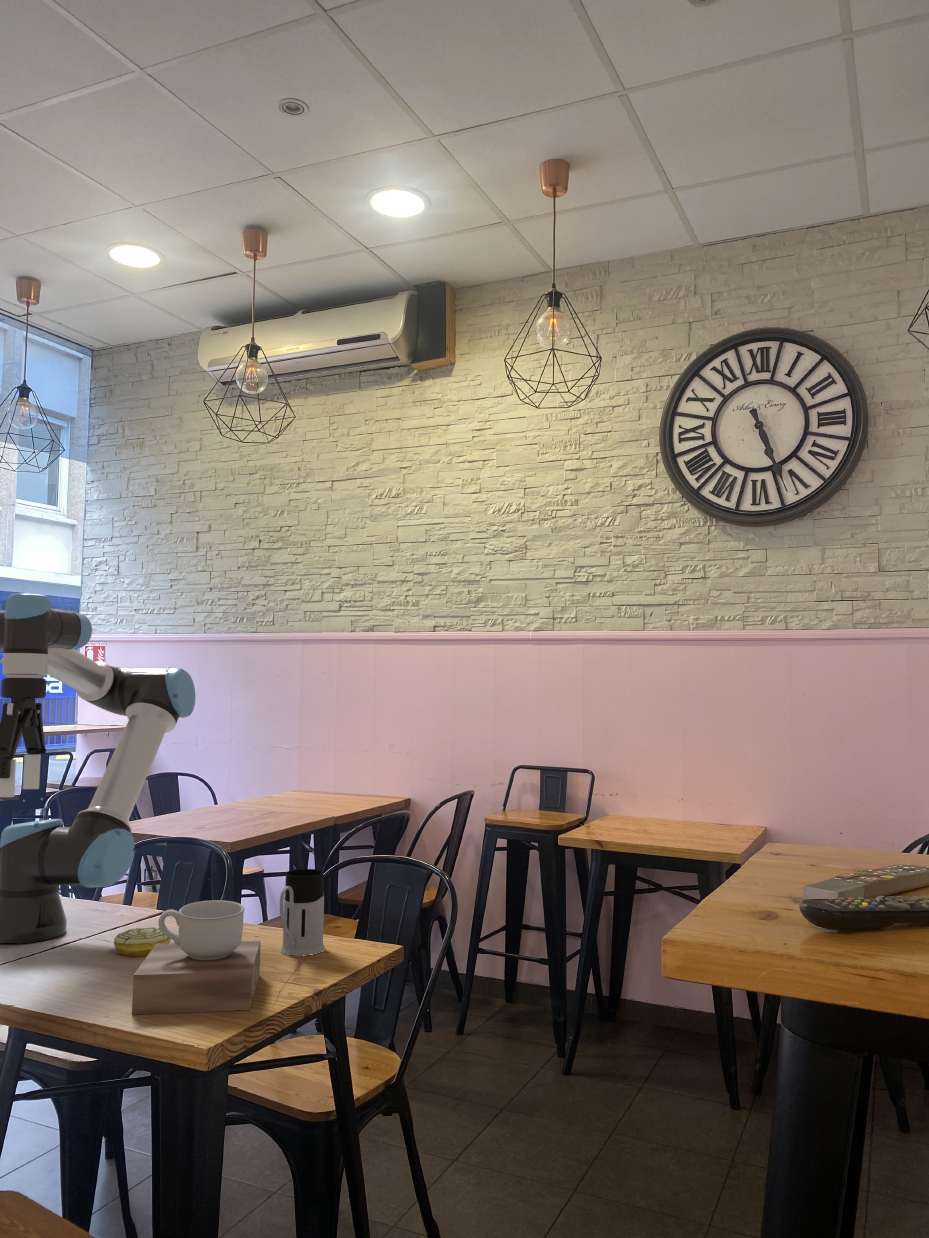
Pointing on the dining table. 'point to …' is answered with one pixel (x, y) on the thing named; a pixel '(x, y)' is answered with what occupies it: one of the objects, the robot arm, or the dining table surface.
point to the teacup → (206, 928)
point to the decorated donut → (139, 941)
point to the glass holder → (302, 912)
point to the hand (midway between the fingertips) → (18, 793)
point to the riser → (195, 981)
